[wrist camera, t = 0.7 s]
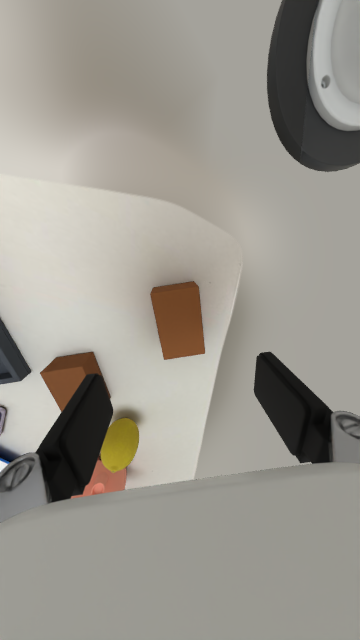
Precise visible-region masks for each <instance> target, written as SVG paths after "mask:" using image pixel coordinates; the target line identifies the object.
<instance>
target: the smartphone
mask: <svg viewBox="0 0 360 640" xmlns="http://www.w3.org/2000/svg"><path fill="white" fill-rule="evenodd" d="M5 413H6V410H5V409H4V408H2V407H0V436H1V433H2V428H3V423H4V418H5Z"/></svg>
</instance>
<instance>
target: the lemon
mask: <svg viewBox="0 0 360 640" xmlns="http://www.w3.org/2000/svg"><path fill="white" fill-rule="evenodd" d="M138 443H139V430H138V427H137V425H136V424H135V422H134V421H132V420H131V419H128V418H121V419H118V420H116V421H115V422H113V423H112V424H111V425H110V426H109V428H108V430H107V433H106V436H105V439H104V442H103V445H102V448H101V460H102V463H103V465H104V466H105V467H106V468H107V469H108V470H110V471H111V472H112V473H115V472H116V471H120V470H122V469H124V468H125V467H127V466H128V465H129V464H130V463H131V461H132V460H133V458H134V456H135V453H136V451H137V448H138Z"/></svg>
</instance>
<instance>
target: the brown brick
mask: <svg viewBox="0 0 360 640" xmlns="http://www.w3.org/2000/svg"><path fill="white" fill-rule="evenodd" d="M94 373H98V374H99V375H101V376H102V374H101V371H100V369H99V366H98V364H97V361H96V358H95V356H94V353H93V352H89V353H82V354H76V355H70V356H63V357H57V358H55V359H54V360H53V361H52V362H51V363H50V364H49V365H48V366H47V367H46V368H45V369H44V370H43V371H42V372H40V374H41V376H42V378H43V379H44V381H45V383H46V385H47V387H48V388H49V390H50V392H51V394H52V396H53V397H54V399H55V401H56V403H57V404H58V406H59V408H60V410H61V412H62V411H63V409H64V408H65V406H66V405H67V403H68V402H69V400H70V399H71V397H72V396H73V394H74V393H75V391H76V390H77V388H78V387H79V385H80V384H81V382H82V381H83V379H84V378H85V376H86V375H87V374H94ZM102 377H103V376H102ZM103 380H104V379H103ZM104 383H105V381H104ZM105 386H106V384H105ZM106 389H107V387H106ZM107 392H108V389H107ZM108 395H109V398H110V394H109V392H108Z"/></svg>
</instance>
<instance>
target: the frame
mask: <svg viewBox="0 0 360 640" xmlns="http://www.w3.org/2000/svg"><path fill="white" fill-rule="evenodd" d="M30 373H31V370H30V369H29V367H28V365H27V364H26V362H25V360H24V358H23V357H22V355H21V353H20V352H19V350H18V348H17V346H16V345H15V343H14V341H13V339H12V338H11V336H10V334H9V333H8V331H7V329H6V327H5V326H4V324H3V322H2V321H1V319H0V384H6V383H12V382H18V381H22V380H23V379H24V378H25V377H26V376H27V375H28V374H30Z"/></svg>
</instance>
